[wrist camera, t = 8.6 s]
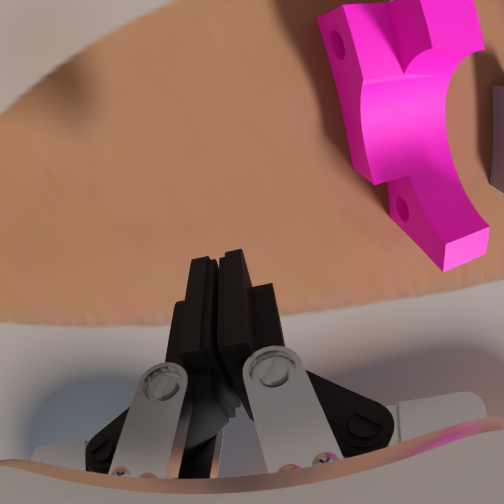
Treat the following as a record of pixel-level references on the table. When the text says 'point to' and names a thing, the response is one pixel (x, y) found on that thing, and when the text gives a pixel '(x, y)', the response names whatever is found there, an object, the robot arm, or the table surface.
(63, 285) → the table surface
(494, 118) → the block
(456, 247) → the magenta curved block
